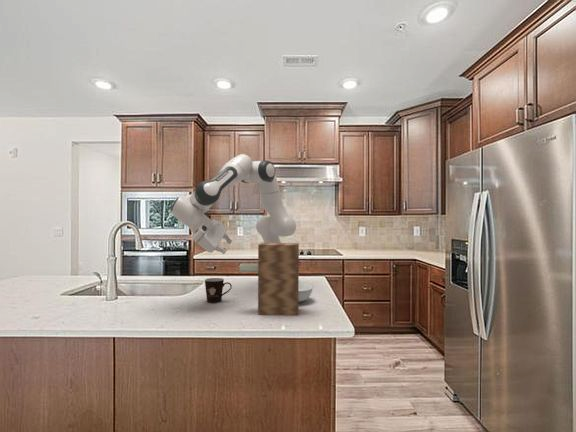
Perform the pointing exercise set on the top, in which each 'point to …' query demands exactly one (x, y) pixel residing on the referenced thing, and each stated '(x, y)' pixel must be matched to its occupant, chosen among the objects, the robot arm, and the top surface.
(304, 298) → the serving bowl
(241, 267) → the pale green bar
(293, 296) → the stand
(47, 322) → the top surface
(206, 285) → the coffee mug
